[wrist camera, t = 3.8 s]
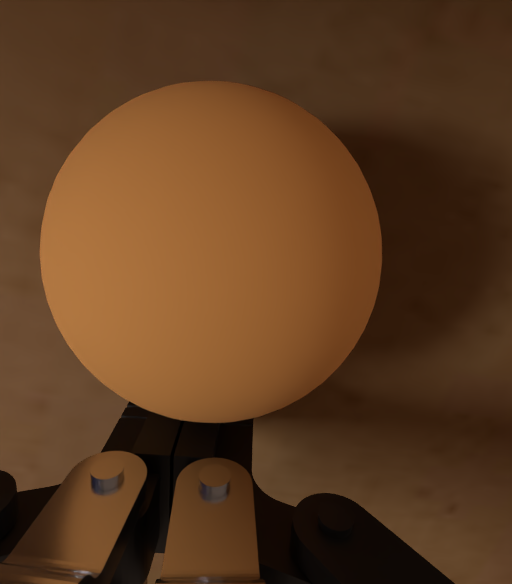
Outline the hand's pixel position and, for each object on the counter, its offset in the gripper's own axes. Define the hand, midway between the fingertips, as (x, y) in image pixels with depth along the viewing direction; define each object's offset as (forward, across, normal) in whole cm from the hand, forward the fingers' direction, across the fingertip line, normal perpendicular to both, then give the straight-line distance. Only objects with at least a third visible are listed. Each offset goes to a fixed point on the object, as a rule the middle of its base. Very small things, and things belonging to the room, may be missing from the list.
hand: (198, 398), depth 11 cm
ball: (-2, 0, -4) cm, 5 cm away
